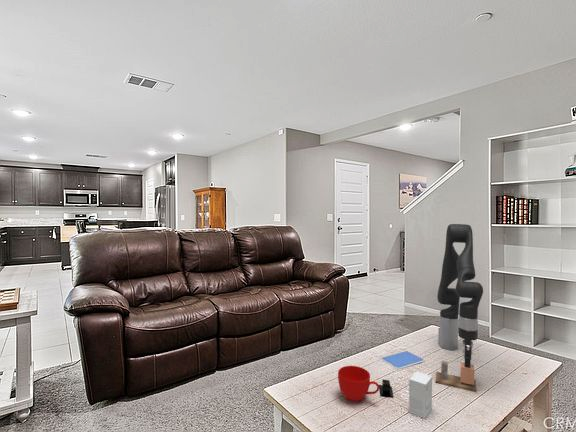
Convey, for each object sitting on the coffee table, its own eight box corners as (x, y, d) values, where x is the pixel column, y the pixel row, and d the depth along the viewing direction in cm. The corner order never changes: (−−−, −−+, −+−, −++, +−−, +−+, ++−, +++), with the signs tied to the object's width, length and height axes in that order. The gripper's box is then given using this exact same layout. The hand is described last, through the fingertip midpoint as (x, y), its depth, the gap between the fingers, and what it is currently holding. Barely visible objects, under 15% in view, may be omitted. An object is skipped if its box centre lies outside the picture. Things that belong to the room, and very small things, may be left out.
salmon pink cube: (460, 381, 143) (460, 367, 143) (460, 376, 148) (460, 362, 148) (474, 384, 141) (474, 369, 141) (473, 379, 146) (473, 364, 145)
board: (435, 382, 146) (435, 365, 146) (436, 373, 154) (436, 357, 154) (476, 392, 139) (476, 373, 139) (475, 382, 147) (475, 364, 147)
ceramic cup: (373, 414, 124) (374, 388, 124) (332, 400, 133) (332, 375, 133) (383, 397, 135) (383, 373, 135) (344, 385, 144) (345, 362, 144)
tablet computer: (397, 371, 158) (397, 368, 158) (379, 360, 169) (379, 357, 169) (425, 362, 167) (425, 360, 167) (406, 352, 178) (406, 350, 178)
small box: (415, 402, 131) (416, 370, 131) (432, 408, 127) (432, 375, 127) (408, 412, 125) (408, 378, 125) (425, 419, 121) (426, 384, 121)
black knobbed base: (376, 383, 146) (376, 373, 146) (393, 385, 145) (393, 375, 145) (378, 399, 134) (378, 388, 134) (396, 402, 133) (397, 391, 133)
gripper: (458, 320, 152) (457, 354, 153) (458, 330, 139) (457, 368, 140) (477, 323, 148) (476, 358, 149) (478, 334, 136) (477, 372, 136)
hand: (467, 362), depth 144 cm, fingers open, 8 cm apart
